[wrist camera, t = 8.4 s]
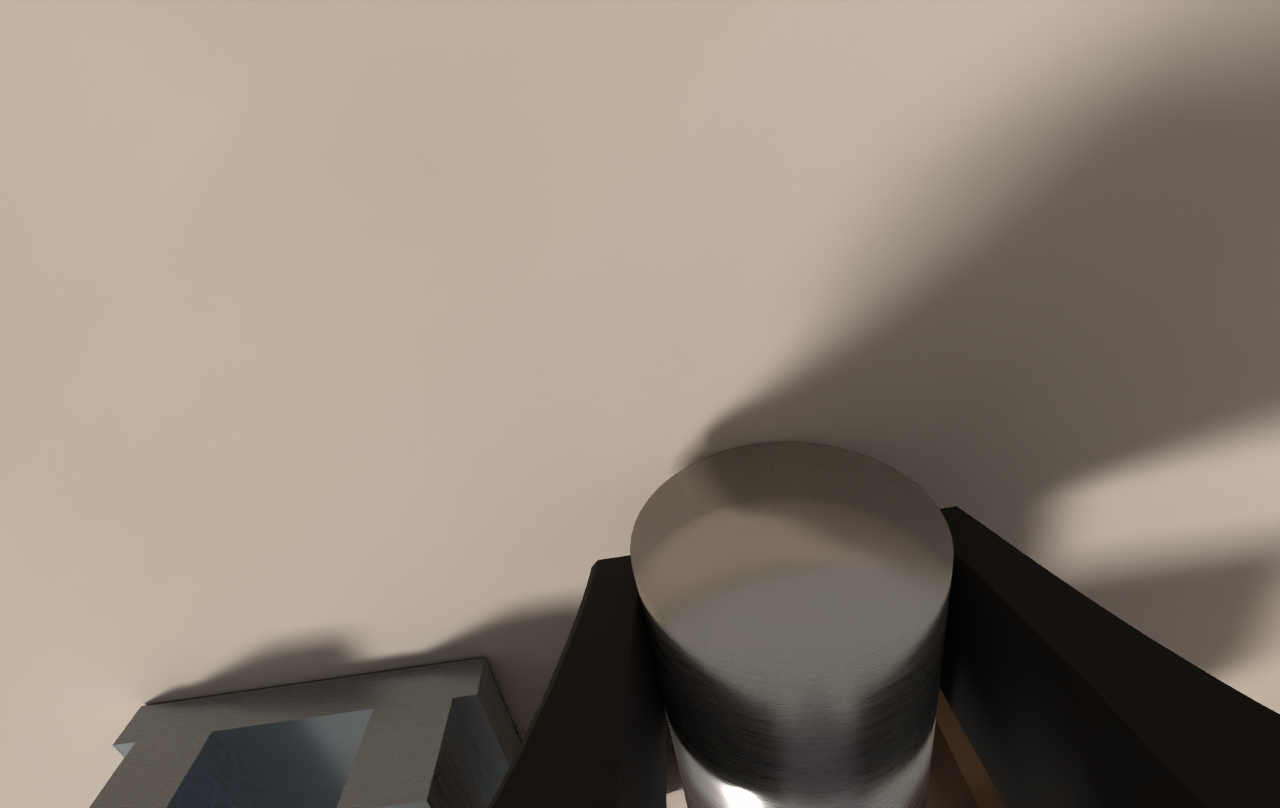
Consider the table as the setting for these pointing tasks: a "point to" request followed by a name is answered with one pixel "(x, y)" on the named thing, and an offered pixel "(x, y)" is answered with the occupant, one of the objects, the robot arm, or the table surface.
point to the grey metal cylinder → (796, 626)
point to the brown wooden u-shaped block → (957, 767)
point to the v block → (323, 745)
